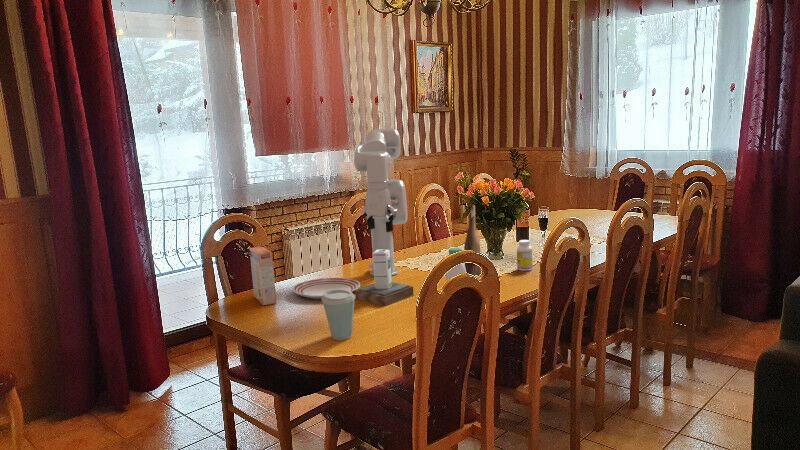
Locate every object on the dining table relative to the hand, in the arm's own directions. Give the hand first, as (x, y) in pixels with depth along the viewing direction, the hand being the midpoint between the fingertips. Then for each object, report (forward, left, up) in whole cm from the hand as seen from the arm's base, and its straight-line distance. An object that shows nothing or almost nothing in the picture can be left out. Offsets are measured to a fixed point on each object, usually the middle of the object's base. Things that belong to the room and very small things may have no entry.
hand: (380, 230), depth 228 cm
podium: (+1, -1, -26) cm, 26 cm away
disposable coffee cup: (+19, -40, -27) cm, 51 cm away
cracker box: (-37, -30, -27) cm, 55 cm away
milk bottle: (+28, +10, -27) cm, 40 cm away
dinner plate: (-24, -9, -27) cm, 37 cm away
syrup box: (0, -1, -23) cm, 23 cm away
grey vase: (+16, +37, -27) cm, 48 cm away
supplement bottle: (+26, +62, -27) cm, 72 cm away
